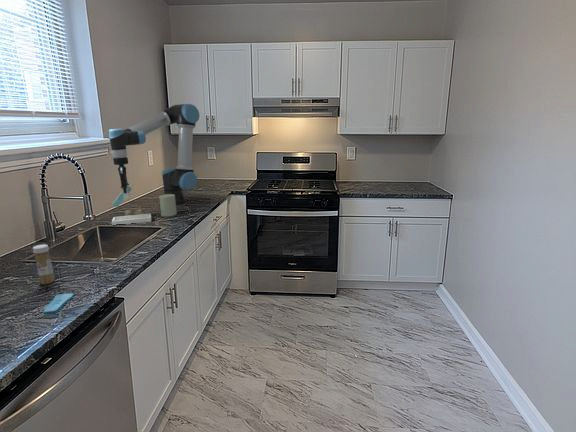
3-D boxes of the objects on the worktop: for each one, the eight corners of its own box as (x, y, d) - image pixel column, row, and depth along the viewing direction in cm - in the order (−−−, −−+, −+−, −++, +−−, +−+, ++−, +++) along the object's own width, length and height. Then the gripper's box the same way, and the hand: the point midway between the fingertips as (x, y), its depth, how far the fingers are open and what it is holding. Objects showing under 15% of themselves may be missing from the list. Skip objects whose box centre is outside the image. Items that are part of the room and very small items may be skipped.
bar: (131, 188, 216) (126, 185, 214) (131, 189, 211) (126, 186, 210) (117, 205, 215) (112, 202, 214) (116, 207, 211) (112, 204, 210)
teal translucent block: (142, 215, 221) (140, 203, 219) (142, 217, 217) (140, 204, 215) (126, 217, 218) (124, 204, 216) (125, 218, 214) (123, 206, 212)
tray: (151, 217, 216) (150, 213, 215) (151, 221, 207) (150, 217, 206) (113, 221, 210) (113, 217, 209) (112, 226, 200) (111, 221, 200)
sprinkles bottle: (37, 284, 130) (29, 248, 126) (45, 279, 134) (38, 244, 131) (50, 284, 130) (42, 248, 126) (57, 279, 134) (50, 243, 130)
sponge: (35, 313, 109) (55, 309, 110) (56, 294, 121) (74, 291, 121) (36, 317, 110) (56, 314, 110) (57, 298, 121) (75, 295, 122)
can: (164, 217, 216) (162, 197, 213) (158, 214, 223) (156, 194, 219) (179, 214, 221) (177, 194, 218) (173, 211, 228) (171, 192, 225)
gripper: (114, 156, 214) (120, 195, 221) (111, 159, 198) (118, 201, 204) (128, 155, 217) (134, 193, 223) (126, 158, 200) (133, 200, 207)
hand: (126, 197), depth 214 cm, fingers closed on bar, 5 cm apart
